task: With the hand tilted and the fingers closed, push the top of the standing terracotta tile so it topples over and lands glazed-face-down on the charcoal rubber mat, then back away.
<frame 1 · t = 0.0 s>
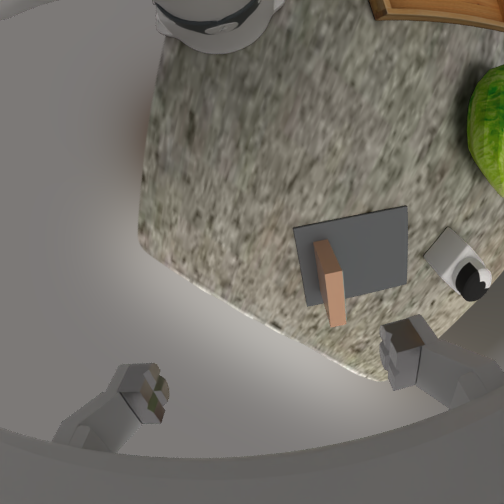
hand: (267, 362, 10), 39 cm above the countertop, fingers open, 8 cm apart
mat: (356, 257, 53), on the countertop
lettuce: (480, 123, 40), on the countertop
tile: (323, 266, 53), resting on mat
container: (444, 250, 52), on the countertop
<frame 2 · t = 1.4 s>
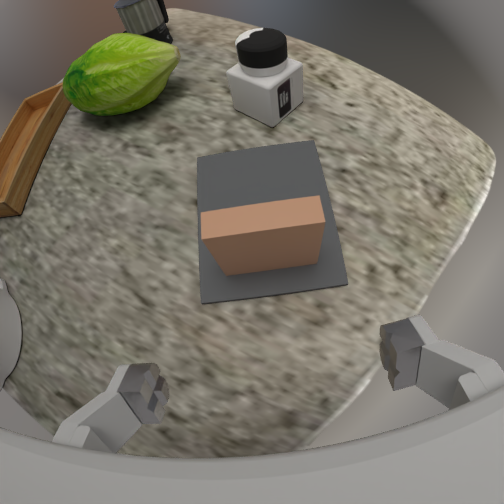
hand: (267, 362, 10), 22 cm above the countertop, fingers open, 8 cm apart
mat: (264, 213, 37), on the countertop
milk frother: (142, 46, 58), on the countertop
tray: (28, 155, 51), on the countertop
lettuce: (132, 102, 50), on the countertop
tile: (270, 259, 34), resting on mat
container: (269, 105, 44), on the countertop
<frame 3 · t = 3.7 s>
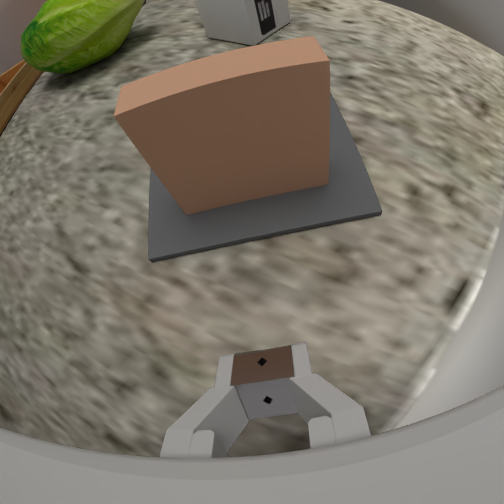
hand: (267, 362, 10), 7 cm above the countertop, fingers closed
mat: (244, 130, 24), on the countertop
lettuce: (96, 58, 38), on the countertop
tile: (253, 184, 21), resting on mat
container: (249, 30, 32), on the countertop
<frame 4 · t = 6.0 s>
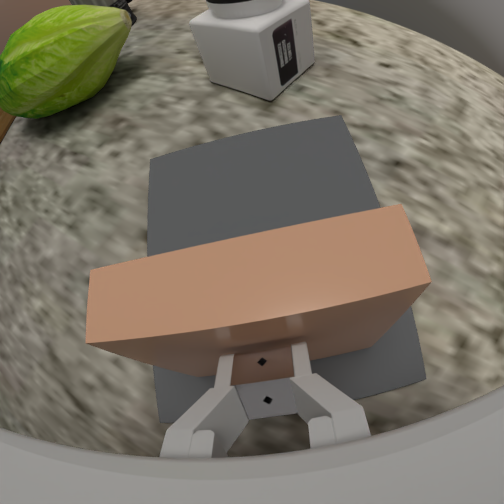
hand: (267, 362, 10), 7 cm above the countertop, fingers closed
mat: (265, 251, 20), on the countertop
milk frother: (102, 33, 43), on the countertop
lettuce: (79, 96, 34), on the countertop
tile: (279, 344, 17), point 1 cm above the countertop, tilted 5°, touching gripper, mat
container: (263, 72, 27), on the countertop
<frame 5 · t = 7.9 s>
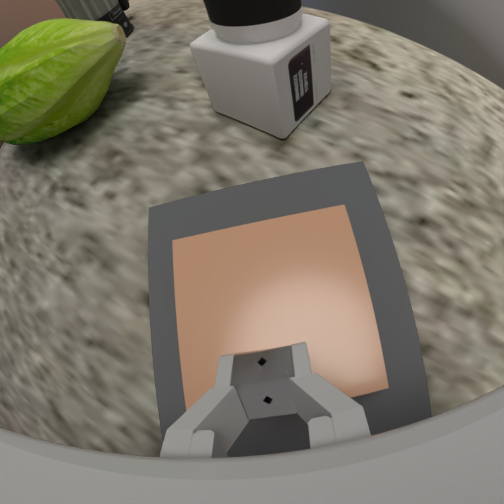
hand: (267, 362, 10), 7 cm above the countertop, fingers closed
mat: (278, 326, 18), on the countertop
milk frother: (97, 43, 41), on the countertop
lettuce: (71, 118, 32), on the countertop
tile: (288, 406, 14), point 2 cm above the countertop, tilted 90°, touching mat
container: (273, 101, 25), on the countertop
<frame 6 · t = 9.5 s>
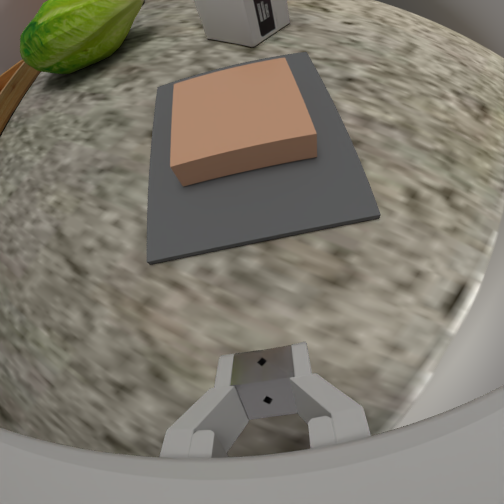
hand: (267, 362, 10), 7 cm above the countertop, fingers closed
mat: (242, 132, 24), on the countertop
lettuce: (95, 58, 38), on the countertop
tile: (245, 159, 21), point 2 cm above the countertop, tilted 90°, touching mat
container: (248, 31, 32), on the countertop
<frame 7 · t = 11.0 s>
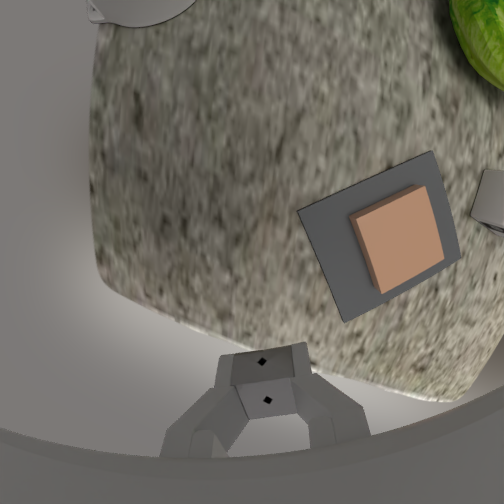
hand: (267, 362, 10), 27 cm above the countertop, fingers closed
mat: (391, 236, 37), on the countertop
lettuce: (471, 43, 30), on the countertop
tile: (366, 255, 35), point 2 cm above the countertop, tilted 90°, touching mat
container: (490, 202, 36), on the countertop
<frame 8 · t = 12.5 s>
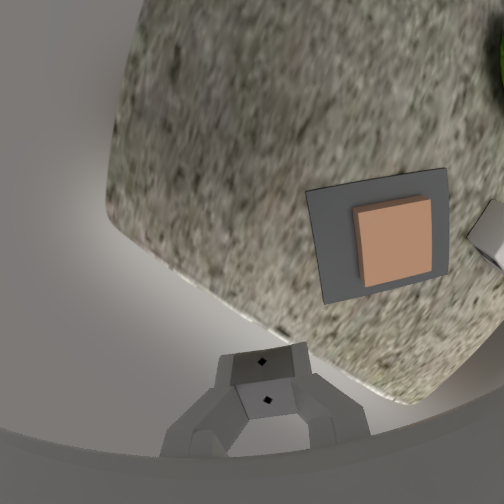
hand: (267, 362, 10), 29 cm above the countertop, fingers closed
mat: (387, 236, 39), on the countertop
tile: (359, 248, 38), point 2 cm above the countertop, tilted 90°, touching mat
container: (489, 231, 38), on the countertop
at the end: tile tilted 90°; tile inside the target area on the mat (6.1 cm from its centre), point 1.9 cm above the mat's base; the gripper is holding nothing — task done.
